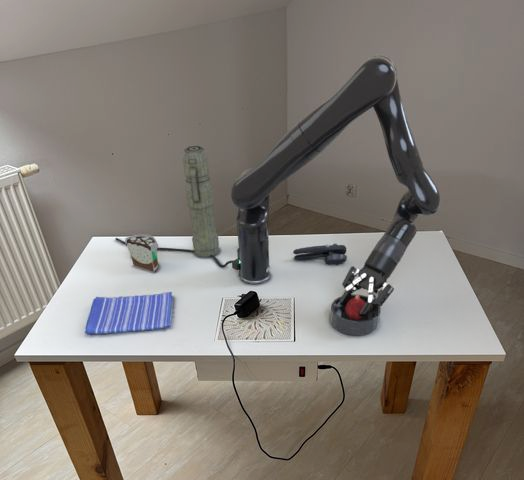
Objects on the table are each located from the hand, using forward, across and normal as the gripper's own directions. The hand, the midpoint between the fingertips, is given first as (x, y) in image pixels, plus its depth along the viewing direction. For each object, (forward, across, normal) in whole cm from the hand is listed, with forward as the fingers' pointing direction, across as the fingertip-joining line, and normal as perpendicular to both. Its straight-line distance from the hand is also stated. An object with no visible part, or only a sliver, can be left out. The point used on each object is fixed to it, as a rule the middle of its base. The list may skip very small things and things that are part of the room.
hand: (351, 309), depth 128 cm
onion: (+2, 0, +4) cm, 5 cm away
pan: (+2, 0, +4) cm, 5 cm away
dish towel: (+35, -45, -28) cm, 63 cm away
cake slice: (+21, -68, -14) cm, 73 cm away
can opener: (-10, -32, +17) cm, 37 cm away
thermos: (+8, -63, -1) cm, 63 cm away
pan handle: (-7, -1, +10) cm, 12 cm away
